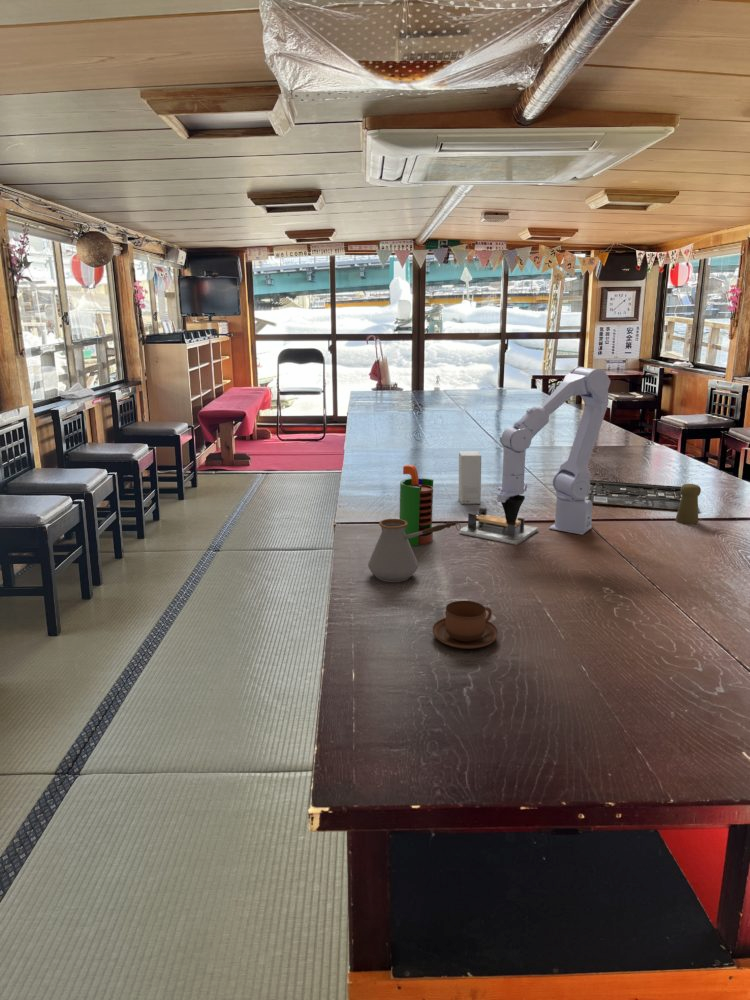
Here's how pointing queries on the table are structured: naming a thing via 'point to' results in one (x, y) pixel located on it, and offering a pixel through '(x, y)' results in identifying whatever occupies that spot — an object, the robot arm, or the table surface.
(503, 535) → the wooden bar fixture
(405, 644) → the table surface
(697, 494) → the cork
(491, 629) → the cup and saucer
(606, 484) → the laptop interior
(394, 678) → the table surface
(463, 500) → the skincare box
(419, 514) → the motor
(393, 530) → the coffee pot
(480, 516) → the wooden board
